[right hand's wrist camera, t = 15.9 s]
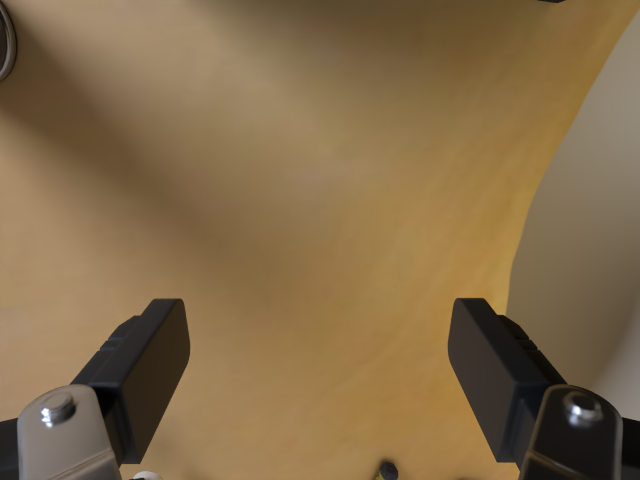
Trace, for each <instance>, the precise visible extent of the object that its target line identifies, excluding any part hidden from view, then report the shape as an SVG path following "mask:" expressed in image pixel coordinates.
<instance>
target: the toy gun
mask: <svg viewBox="0 0 640 480" xmlns="http://www.w3.org/2000/svg"><path fill="white" fill-rule="evenodd" d="M397 478H398V470H397V469H396V467H395V466H394V464H391V463H384V464H382V466H381V467H380V471H379V475H378V476H377V477H376V480H397Z"/></svg>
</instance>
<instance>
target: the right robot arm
mask: <svg viewBox="0 0 640 480" xmlns="http://www.w3.org/2000/svg"><path fill="white" fill-rule="evenodd" d="M15 55H16V39H15V33H14V29H13V26H12V23H11V21H10V18H9V16H8V14H7V12H6V10H5V9H4V7H3V5H2V4H1V3H0V81H1V80H3V79H4V78H5V77H6V76H7V75H8V73H9V72H10V70H11V68H12V66H13V63H14V60H15ZM448 355H449V360H450V363H451V365H452V368H453V370H454V372H455V374H456V376H457V378H458V380H459V382H460V385H461V387H462V389H463V391H464V393H465V395H466V397H467V399H468V402H469V404H470V406H471V408H472V410H473V412H474V414H475V416H476V419H477V421H478V423H479V425H480V427H481V429H482V431H483V433H484V436H485V438H486V440H487V442H488V444H489V446H490V448H491V451H492V453H493V455H494V457H495V459H496V461H497V462H515V463H516V465H517V466H518V468H519V470H520V474H519V478H518V480H640V421H636V420H632V419H628V418H623V417H621V416H620V414H619V412H618V411H617V410H616V409H615V408H614V406H612V405H611V404H610V403H609V402H608V401H607V400H605V399H604V398H602V397H601V396H599V395H597V394H595V393H593V392H592V391H589V390H587V389H584V388H581V387H578V386H573V385H568V384H567V383H566V381H565V380H564V379H563V378H562V377H561V375H560V374H559V373H558V372H557V371H556V369H555V368H554V367H553V366H552V365H551V363H550V362H549V361H548V360H547V358H546V357H545V356H544V355H543V354H542V352H541V351H540V350H538V349H537V346H536V345H535V344H534V343H533V342H532V340H529V337H528V336H527V334H526V333H525V332H524V331H523V330H522V328H521V327H520V326H519V325H518V324H516V323H515V322H513V321H512V320H510V319H509V318H507V317H506V316H504V315H497V314H496V313H495V312H494V310H493V309H492V308H491V306H490V305H489V304H488V302H487V301H486V300H485V299H484V298H457V299H456V300H455V302H454V305H453V312H452V318H451V325H450V332H449V339H448ZM189 356H190V339H189V332H188V326H187V319H186V312H185V306H184V302H183V300H182V299H154V300H152V301H151V303H150V304H149V305H148V307H147V308H146V309H145V310H144V312H143V313H142V314H141V316H133V317H132V318H130V319H129V320H127V321H126V322H124V323H123V324H121V325H119V326H118V327H117V329H116V330H115V331H114V332H113V333H112V335H111V336H110V337H109V338H108V341H106V342H105V343H104V344H103V345H102V346H101V348H100V351H97V352H96V354H95V355H94V356H93V357H92V358H91V360H90V361H89V362H88V363H87V364H86V366H85V367H84V368H83V369H82V370H81V372H80V373H79V374H78V375H77V376H76V377H75V379H74V380H73V381H72V382H71V383H70V385H66V386H62V387H59V388H56V389H53V390H51V391H48V392H47V393H45V394H43V395H41V396H39V397H38V398H36V399H35V400H33V401H32V402H31V403H30V404H29V405H28V406H26V408H25V409H24V410H23V411H22V412H21V414H20V416H19V417H18V418H15V419H11V420H6V421H2V422H0V480H122V478H121V474H120V471H119V468H120V466H121V464H140V463H141V461H142V459H143V457H144V454H145V452H146V450H147V448H148V446H149V444H150V442H151V440H152V438H153V436H154V433H155V431H156V429H157V427H158V425H159V423H160V421H161V419H162V417H163V415H164V412H165V410H166V408H167V406H168V404H169V402H170V400H171V398H172V396H173V394H174V391H175V389H176V387H177V385H178V383H179V381H180V379H181V377H182V375H183V372H184V370H185V368H186V366H187V364H188V361H189Z"/></svg>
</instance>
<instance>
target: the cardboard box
mask: <svg viewBox="0 0 640 480" xmlns="http://www.w3.org/2000/svg"><path fill="white" fill-rule="evenodd" d="M540 1H547V2H554V3H559V2H562V1H565V0H540Z"/></svg>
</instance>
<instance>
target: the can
mask: <svg viewBox="0 0 640 480" xmlns="http://www.w3.org/2000/svg"><path fill="white" fill-rule="evenodd" d="M136 478H144V479H145V480H163V479H162V478H161V477H160V476H159V475H158V474H156V473H154V472H150V471H143V472H139V473H138V474H136V475H135V476H134V478H133V479H136Z"/></svg>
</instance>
